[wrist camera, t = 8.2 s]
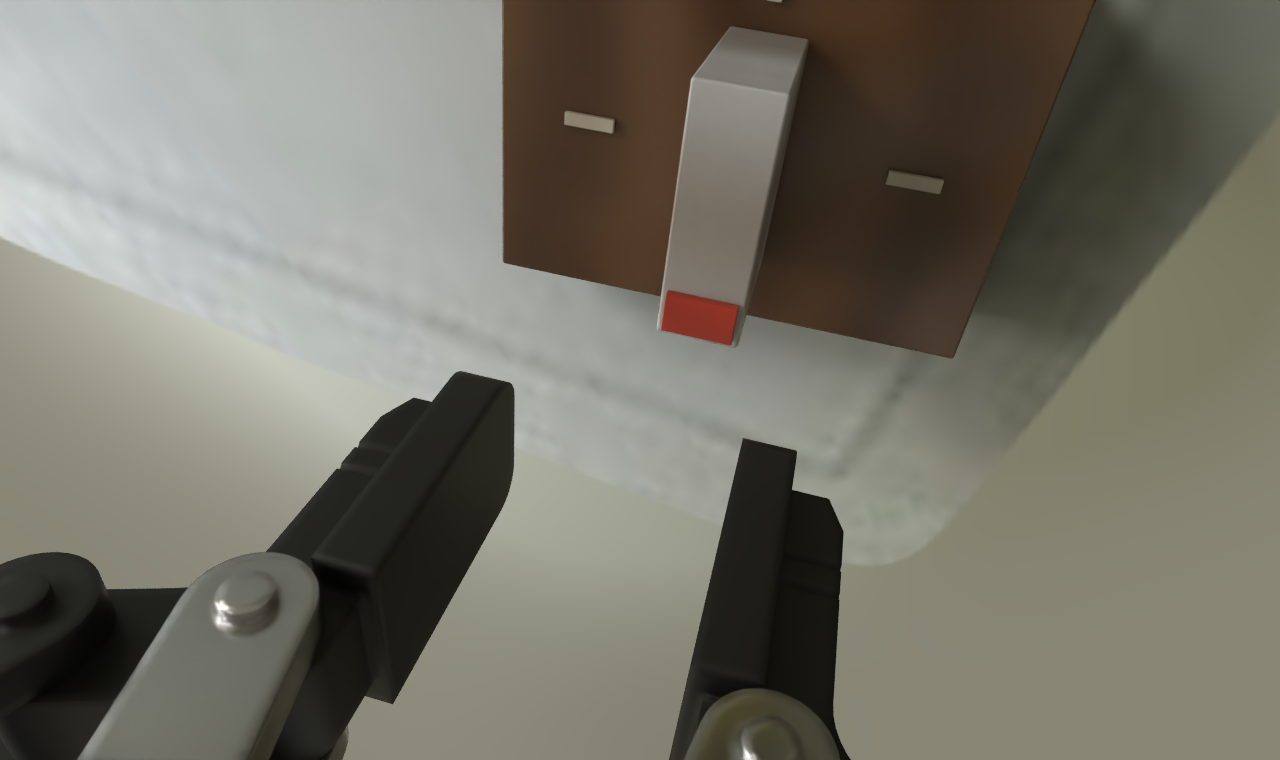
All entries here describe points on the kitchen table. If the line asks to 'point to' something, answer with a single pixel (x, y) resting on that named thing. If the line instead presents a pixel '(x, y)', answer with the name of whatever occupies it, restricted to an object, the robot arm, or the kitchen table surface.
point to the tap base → (789, 147)
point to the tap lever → (728, 181)
